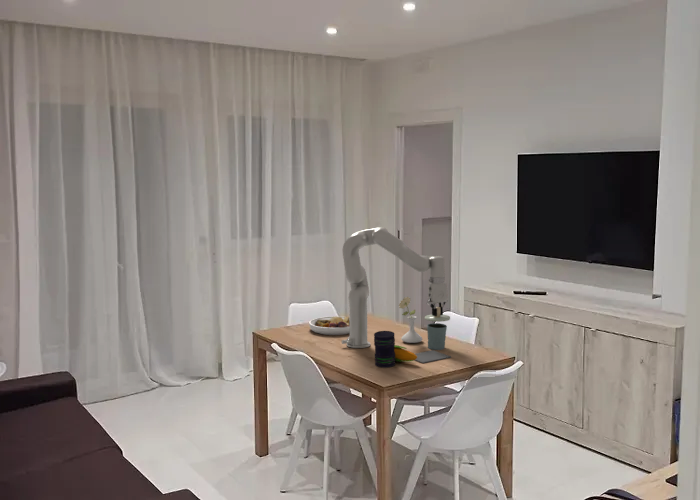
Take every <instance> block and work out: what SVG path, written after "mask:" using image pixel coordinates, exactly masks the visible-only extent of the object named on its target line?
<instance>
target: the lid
mask: <svg viewBox="0 0 700 500" xmlns="http://www.w3.org/2000/svg"><path fill="white" fill-rule="evenodd" d="M436 309H437V316H432V313H431V314H427V315H425V316H424V320H426V321H428V322H434V323H435V322H436V323H438V322H439V323H440V322H441V323H442V322H448V321H450V320H451V316H450V315H447V314H443V315H441V307H439V306H436Z"/></svg>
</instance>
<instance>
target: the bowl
mask: <svg viewBox="0 0 700 500" xmlns="http://www.w3.org/2000/svg"><path fill="white" fill-rule="evenodd" d="M308 325H309V328H310V330H311V331H312V332H314V333H316V334H319V335H325V336H340V335H341V336H343V335H349V316H337V315H336V316H322V317H317V318H314V319H311V320H309V322H308Z"/></svg>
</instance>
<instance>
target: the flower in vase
mask: <svg viewBox="0 0 700 500" xmlns="http://www.w3.org/2000/svg"><path fill="white" fill-rule="evenodd" d="M410 303H411V297H409V296H406V297H404V298H403V299H402V300H400V302H399V303H398V306H399V309H405V308H406V309H407V311H405V312H403V313H402V314H401V315H402V316H407V319H408V321H409V330H408V331H407V332H406V333H405V334H403V335H402V336H401V341H402V342H404V343H408V344H416V343H420V342H422V341H423V337H422V336H421V335H420V334H419V333H418V332H417V331H416V330H415V321H416V319H417V316H416V315H414V314H416V309H413V310H411V311H409V307H408V306H409V305H410Z"/></svg>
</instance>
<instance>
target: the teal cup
mask: <svg viewBox="0 0 700 500" xmlns="http://www.w3.org/2000/svg"><path fill="white" fill-rule="evenodd" d="M447 326H448V325H447V324H444V323H440V322H439V323H438V322H436V323H435V322H434V323H428V324H427V325H426V330H427V348H428V349H429V350H434V351H441V350H444V349H445V347H446V346H445V345H446V335H447V330H448V329H447V328H448V327H447Z"/></svg>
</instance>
